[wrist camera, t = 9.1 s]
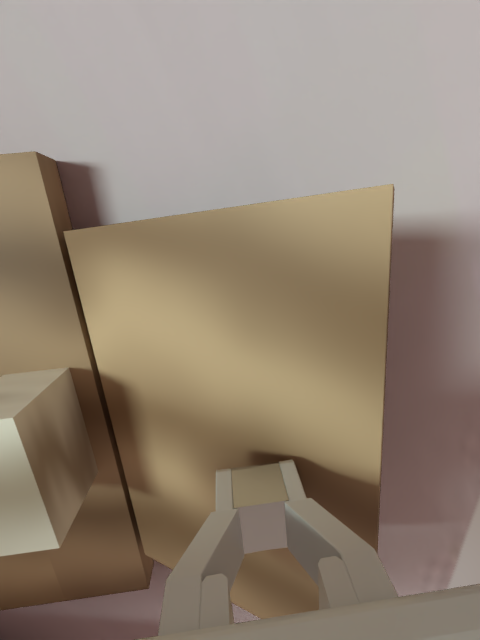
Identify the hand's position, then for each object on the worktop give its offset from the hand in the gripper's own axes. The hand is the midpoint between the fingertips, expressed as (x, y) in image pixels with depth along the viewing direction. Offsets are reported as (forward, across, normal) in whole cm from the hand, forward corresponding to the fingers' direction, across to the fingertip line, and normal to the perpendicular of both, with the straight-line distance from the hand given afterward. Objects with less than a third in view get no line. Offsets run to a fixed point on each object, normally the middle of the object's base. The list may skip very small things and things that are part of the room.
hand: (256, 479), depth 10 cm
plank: (+3, -1, 0) cm, 3 cm away
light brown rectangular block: (+7, -12, 0) cm, 14 cm away
